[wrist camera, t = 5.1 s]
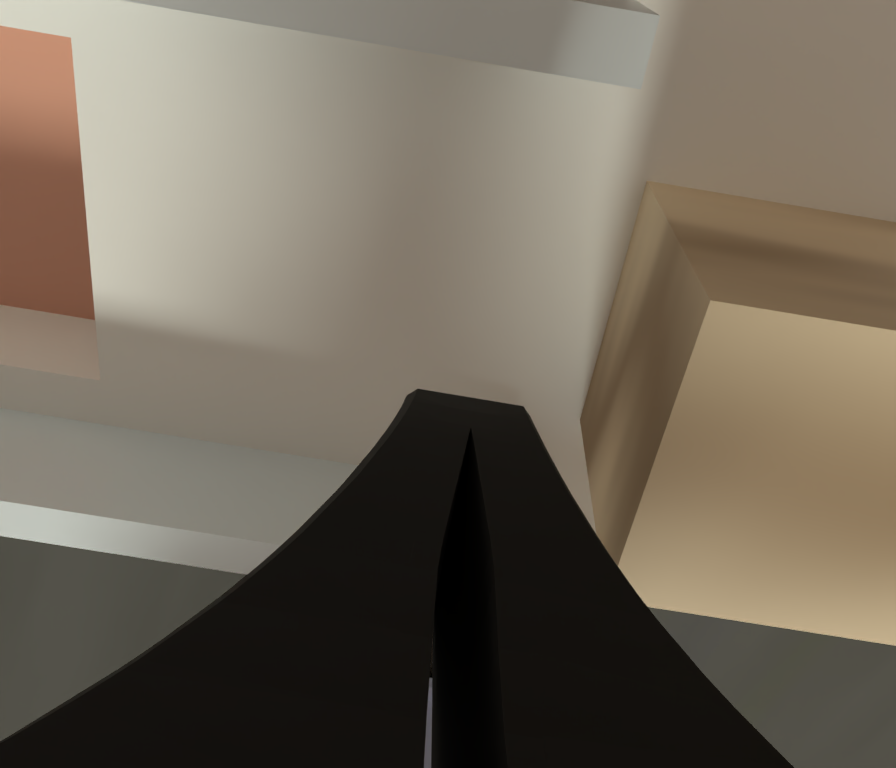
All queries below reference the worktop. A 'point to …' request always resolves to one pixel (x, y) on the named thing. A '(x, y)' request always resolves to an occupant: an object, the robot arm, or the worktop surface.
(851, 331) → the block
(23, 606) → the worktop surface
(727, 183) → the white tray
